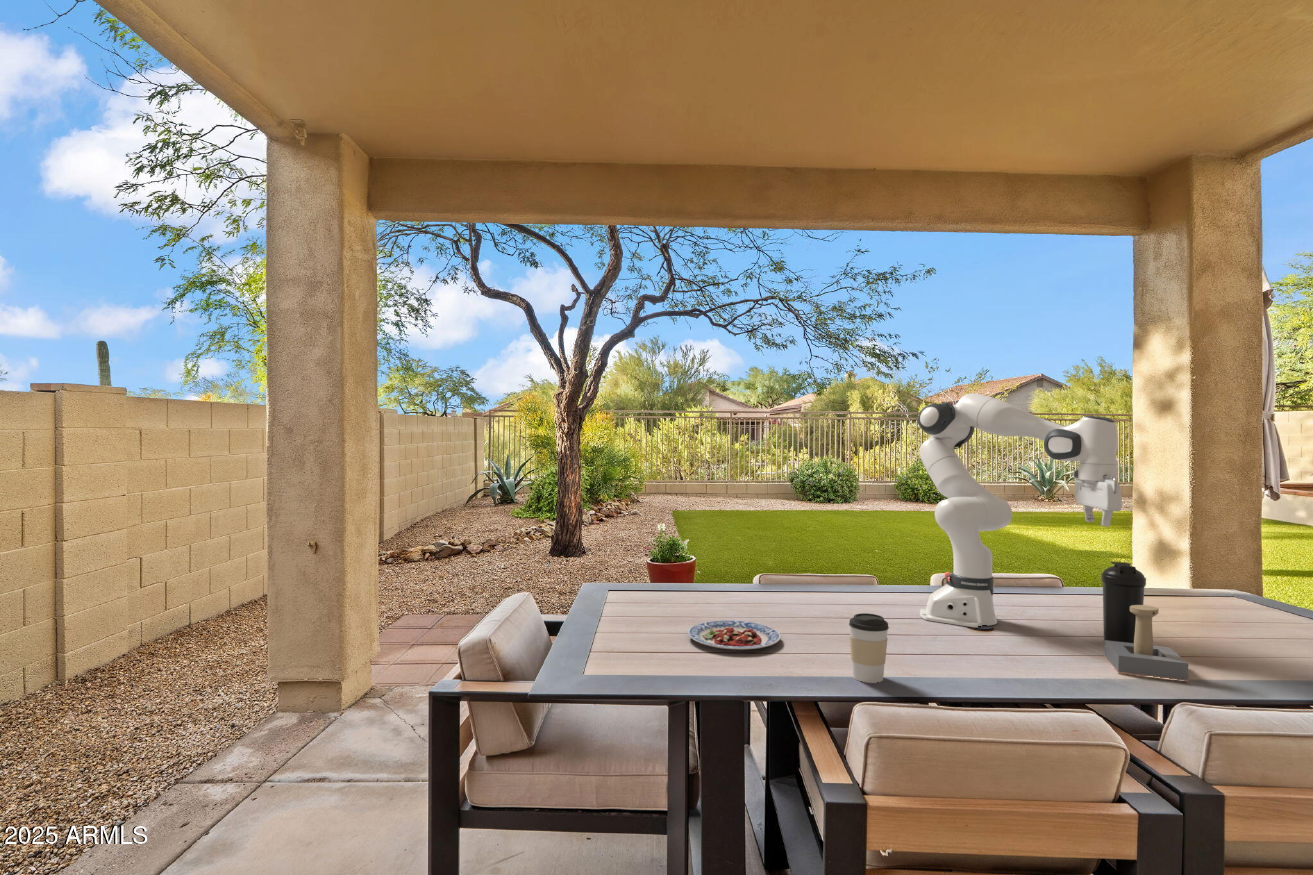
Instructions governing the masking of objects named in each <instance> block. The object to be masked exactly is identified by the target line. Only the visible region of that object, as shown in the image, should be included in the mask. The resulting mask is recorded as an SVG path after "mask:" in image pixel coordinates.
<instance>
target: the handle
mask: <svg viewBox="0 0 1313 875" xmlns="http://www.w3.org/2000/svg"><path fill="white" fill-rule="evenodd" d="M1130 612H1132V613H1133V614H1135V615H1136V624H1135V635H1134V654H1142V655H1151V656H1153V645H1154V635H1153V618H1154V617H1156V616H1157V615H1158V614H1159V608H1158V607H1156V606H1151V605H1146V604H1143V605H1132V606H1130Z"/></svg>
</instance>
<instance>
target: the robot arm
mask: <svg viewBox="0 0 1313 875" xmlns="http://www.w3.org/2000/svg"><path fill="white" fill-rule="evenodd" d="M917 423H918V426H919V427H920V429H921V430H922V431H923V432H924V433H925V434H928V435H929V437H928V438H927V439H926V440H925V441H923V442H922V444H920V447H919V456H920V459H921V462H922V464H923V467H924V468H925V470H926V472H927V474H928V476H929V477H930V479H931V481H932V482H933V484H934V486H935V488H936V489H937V491H938V492H939V493H940V494H941V495H942V496H943V497H945V498H946V499H941V501H939V502H938V503H937V504H936V506H935V509H934V519H935V521H936V524H938V527H940V529H942V530H943V531H944V533H945V534H946V535H947V536H948V539H949V540H950V543H951V547H952V557H953V562H952V563H953V572H949V571H946V572H944V578H945V580H946V581H945V582H946V584H944V585H943V586H942V587H940V588H938V589H937V590H935V591H933V592H931V594H930V595H929V597H928V598H927V603H926V606H925V607H921V608H920V609H919V617H920V618H922V619H923V620H924V621H931V622H937V623H944V624H949V625H956V626H961V627H962V626H963V627H970V628H979V627H978V626H981V625H987V626H988V627H989V626H994V625H997V624H998V619H997V616H996V613H995V607H994V598H993V596H994V592H995V580H994V576H993V552H992V550H991V549H990V548H989V547H988V546H986V545H985V544H984V543H983V542H982V539H981V536H980V535H981V534H980V532H987V531H988V532H991V531H993V532H994V531H997V530H1000V529H1003V528H1005V527H1007V526H1008V525H1010V524H1011V522H1012V518H1013V511H1012V510H1013V509H1012V507H1011V505H1010V503H1009V502H1008V501H1006V500H1005V499H1004V498H1001V497H999V496H997V495H995V494H994V493H992V492H991V491H990V490H988V489H987V488H985V487H984V486H983V485H982V484H980V482H978V481H977V480H976V479H975V478H974V476H973V475H971V473H970V472H969V470H968V469H967V468H966V466H965V465H964V463H963V462H962V460H961V459H960V457H959V455H958V454H957V452H956V450H958V449H960V448H961V447H962V446H963V445H964V444H966V443H967V442H968V441H970V440H971V439H972V438H973V435H974V433H975V429H978V430H980V431H983V432H985V433H988V434H991V435H996V436H1002V437H1026V438H1033V439H1038V440H1041V441H1043V448H1044V452H1045V453H1046V455H1047V456H1048V457H1049V458H1050V459H1053V460H1055V461H1056V460H1057V461H1061V462H1079V464H1078V465H1079V466H1078V467H1077V469H1075V470H1073V472H1072V478H1073V479H1075V481H1074V497H1075V498H1074V499H1075V501H1076V504H1078V505H1082V506H1083V507H1082V508H1083V512H1084V516H1085V518H1084V519H1085V522H1088V523H1094V522H1095V515H1094V508H1095V509H1098V510H1101V514H1102V517H1101V519H1100V526H1102V527H1105V528H1106V527H1107V528H1108V527H1111V520H1112V518H1113V515H1114V512H1121V510H1122V508H1123V496H1122V495H1123V494H1122V488H1121V485H1120V483H1118V467H1119V466H1118V460H1117V452H1118V450H1119V436H1118V434H1119V433H1118V428H1117V427H1118V426H1117V424H1116V421H1115V420H1113V419H1112V418H1110V417H1106V416H1098V415H1085V416H1083V417H1082V418H1080V419H1079V420H1077V421H1076V422H1074V423H1071V424H1069V425H1063V424H1061V423H1058V422H1055V421H1052V420H1049V419H1045V418H1042V417H1039V416H1037V415H1035V414H1033V413H1031V412H1028V411H1025V410H1024V409H1021V408H1019V407H1017V406H1015V405H1013V404H1011V403H1009V402H1006V401H1004V400H1001V399H998V398H995V397H993V396H989V395H985V394H982V393H981V394H980V393H974V392H973V393H972V392H971V393H967V394H964V395H962V396H961V397H960V398H959V400H958V402H956V403H955V404H952V402H948V401H946V402H941V403H938V402H937V403H930V404H927V405H926V406H924V407H922V409H921V410H920V411H919V413H918V417H917ZM987 626H986V627H987ZM981 627H982V626H981Z"/></svg>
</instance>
